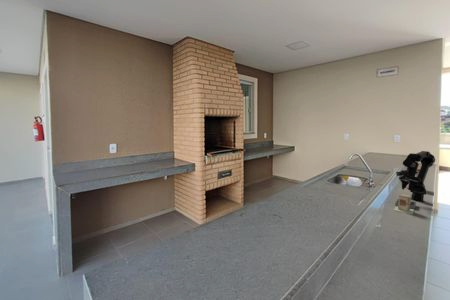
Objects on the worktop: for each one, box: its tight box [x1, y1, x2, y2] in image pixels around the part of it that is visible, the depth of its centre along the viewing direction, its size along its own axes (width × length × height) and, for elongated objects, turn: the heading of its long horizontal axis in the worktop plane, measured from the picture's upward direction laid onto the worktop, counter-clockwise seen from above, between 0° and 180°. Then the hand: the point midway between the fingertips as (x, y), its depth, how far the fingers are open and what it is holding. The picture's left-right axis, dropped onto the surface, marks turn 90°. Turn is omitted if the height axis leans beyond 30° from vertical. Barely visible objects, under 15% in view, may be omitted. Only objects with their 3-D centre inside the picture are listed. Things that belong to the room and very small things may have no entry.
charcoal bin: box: [394, 198, 417, 211], centre depth 161 cm, size 11×11×3 cm
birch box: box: [398, 193, 412, 212], centre depth 152 cm, size 5×5×10 cm
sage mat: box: [393, 206, 415, 215], centre depth 153 cm, size 10×10×1 cm
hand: (405, 189), depth 164 cm, fingers open, 9 cm apart
